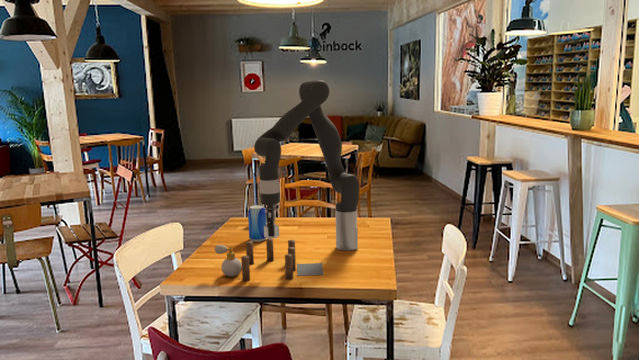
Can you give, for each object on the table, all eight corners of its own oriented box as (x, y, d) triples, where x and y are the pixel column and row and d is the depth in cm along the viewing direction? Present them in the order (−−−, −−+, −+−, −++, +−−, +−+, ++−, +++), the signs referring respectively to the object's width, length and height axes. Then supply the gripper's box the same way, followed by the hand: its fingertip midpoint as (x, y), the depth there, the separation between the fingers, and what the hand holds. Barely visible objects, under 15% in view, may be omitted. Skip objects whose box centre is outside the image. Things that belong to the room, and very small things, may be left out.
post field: (295, 257, 197) (294, 237, 195) (295, 279, 174) (295, 256, 173) (247, 259, 196) (246, 239, 194) (242, 281, 173) (240, 258, 172)
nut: (279, 233, 183) (279, 223, 183) (279, 237, 178) (278, 227, 178) (264, 234, 183) (264, 224, 182) (263, 238, 178) (263, 228, 177)
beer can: (264, 242, 217) (262, 209, 214) (246, 242, 219) (245, 208, 216) (269, 237, 225) (268, 204, 222) (252, 236, 227) (251, 204, 224)
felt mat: (321, 263, 190) (321, 263, 190) (323, 274, 178) (323, 274, 178) (297, 264, 189) (297, 263, 189) (297, 275, 178) (297, 275, 178)
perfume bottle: (242, 278, 177) (240, 247, 174) (215, 280, 175) (213, 249, 173) (241, 270, 184) (240, 241, 182) (216, 273, 182) (214, 243, 180)
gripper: (279, 194, 170) (281, 239, 174) (280, 186, 184) (282, 228, 188) (258, 195, 170) (260, 240, 173) (261, 187, 184) (263, 228, 187)
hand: (271, 233), depth 181 cm, fingers closed on nut, 5 cm apart
